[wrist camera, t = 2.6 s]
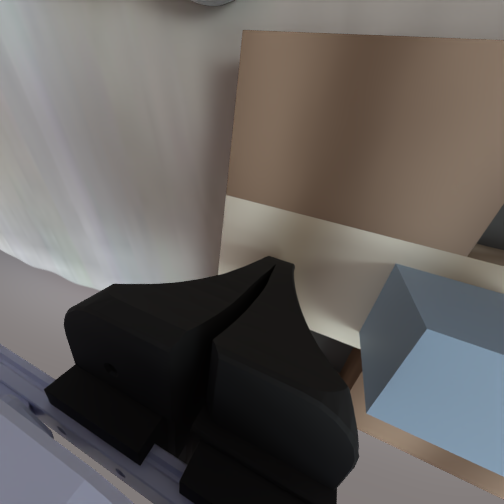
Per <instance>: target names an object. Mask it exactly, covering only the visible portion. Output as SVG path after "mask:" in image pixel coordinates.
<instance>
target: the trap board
mask: <svg viewBox="0 0 504 504" xmlns="http://www.w3.org/2000/svg"><path fill="white" fill-rule="evenodd" d="M267 256H271V257H274V258H277V259H280V260H283V261H286V262H290V263H293V264H294V265H295V270H294V282H295V288H296V293H297V297H298V301H299V304H300V308H301V310H302V313H303V316H304V318H305V320H306V323H307V325H308V327H309V329H310V331H311V333H312V335H313V336H314V338H315V340H316V342H317V344H318V346H319V347H320V349H321V350H322V352H323V353H324V355H325V356H326V358H327V359H328V361H329V362H330V363H331V365H332V366H333V367H334V369H335V370H336V371H337V372H338V374H339V375H340V376H341V378H342V379H343V380H344V382H345V383H346V384H347V386H348V387H349V389H350V393H351V398H352V402H353V407H354V413H355V418H356V424H357V429H358V430H360V431H363V432H365V433H367V434H369V435H371V436H373V437H375V438H377V439H379V440H381V441H383V442H385V443H388V444H389V445H392V446H394V447H396V448H398V449H400V450H402V451H404V452H406V453H408V454H410V455H412V456H414V457H417V458H419V459H421V460H423V461H425V462H427V463H429V464H431V465H433V466H435V467H437V468H439V469H441V470H443V471H446V472H448V473H450V474H452V475H454V476H456V477H458V478H460V479H462V480H464V481H466V482H468V483H471V484H473V485H475V486H477V487H479V488H481V489H483V490H485V491H487V492H489V493H491V494H494V495H495V496H497V497H499V498H502V499H504V477H503V476H501V475H499V474H497V473H495V472H492V471H490V470H488V469H486V468H484V467H482V466H479V465H477V464H475V463H473V462H471V461H469V460H466V459H464V458H462V457H460V456H458V455H455V454H453V453H451V452H449V451H447V450H445V449H442V448H440V447H438V446H436V445H434V444H432V443H429V442H427V441H425V440H423V439H421V438H419V437H416V436H414V435H412V434H410V433H408V432H405V431H403V430H401V429H399V428H397V427H395V426H392V425H390V424H388V423H386V422H384V421H382V420H379V419H377V418H375V417H373V416H371V415H369V414H366V406H365V394H364V383H363V371H362V359H361V347H360V336H359V332H360V330H361V328H362V326H363V324H364V322H365V320H366V318H367V317H368V315H369V313H370V311H371V309H372V307H373V305H374V303H375V302H376V300H377V298H378V296H379V294H380V292H381V290H382V288H383V286H384V285H385V283H386V281H387V279H388V277H389V275H390V273H391V271H392V269H393V268H394V266H395V264H400V265H403V266H407V267H410V268H414V269H417V270H421V271H424V272H428V273H432V274H435V275H439V276H442V277H446V278H449V279H453V280H456V281H460V282H463V283H467V284H470V285H474V286H477V287H481V288H484V289H488V290H491V291H495V292H499V293H502V294H504V40H486V39H460V38H435V37H409V36H383V35H357V34H331V33H305V32H280V31H254V30H243V33H242V43H241V53H240V63H239V72H238V82H237V92H236V102H235V111H234V121H233V131H232V141H231V151H230V160H229V170H228V180H227V190H226V200H225V209H224V219H223V229H222V239H221V248H220V258H219V268H218V275H220V274H224V273H227V272H230V271H233V270H236V269H238V268H241V267H244V266H246V265H249V264H251V263H253V262H256V261H258V260H260V259H262V258H264V257H267Z"/></svg>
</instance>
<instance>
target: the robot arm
mask: <svg viewBox="0 0 504 504" xmlns="http://www.w3.org/2000/svg"><path fill="white" fill-rule="evenodd" d="M294 270H295V265H294V264H293V263H290V262H286V261H283V260H280V259H277V258H274V257H271V256H267V257H264V258H262V259H260V260H258V261H256V262H253V263H251V264H249V265H246V266H244V267H241V268H238V269H236V270H233V271H230V272H227V273H224V274H220V275H217V276H212V277H208V278H203V279H197V280H191V281H184V282H176V283H163V284H112V285H111V286H109V287H107V288H105V289H104V290H102V291H100V292H98V293H96V294H95V295H93V296H91V297H90V298H88V299H86V300H84V301H82V302H80V303H79V304H77V305H75V306H73V307H71V308H70V309H69V310H68V311H67V313H66V315H65V319H64V328H65V332H66V336H67V339H68V343H69V345H70V349H71V351H72V355H73V358H74V361H75V364H76V365H74V366H73V367H72V368H70V369H69V370H68V371H67V372H65V373H64V374H63V375H61V376H60V377H59V378H58V379H56V380H55V379H54V378H52V377H51V376H49V375H47V374H46V373H45V372H43V371H41V370H40V369H38V368H37V367H35V366H34V365H32V364H31V363H29V362H27V361H26V360H24V359H23V358H21V357H20V356H18V355H17V354H15V353H13V352H12V351H10V350H9V349H7V348H6V347H4V346H2V345H1V344H0V504H134V503H133V502H132V501H131V500H130V499H129V498H127V497H126V496H125V495H124V494H123V493H121V492H120V491H119V490H118V489H117V488H116V487H115V486H113V485H112V484H111V483H110V482H109V481H107V480H106V479H105V478H104V477H103V476H102V475H100V474H99V473H98V472H97V471H96V470H94V469H93V468H92V467H90V466H89V465H88V464H86V463H85V462H84V461H82V460H81V459H80V458H78V457H77V456H76V455H74V454H73V453H71V452H70V451H69V450H68V449H66V448H65V447H64V446H62V445H61V444H59V443H58V442H57V441H55V440H54V437H53V434H52V432H51V430H50V429H49V428H48V427H47V426H46V425H48V426H49V427H50V428H51V429H53V430H54V431H56V432H57V433H58V434H60V435H61V436H62V437H64V438H65V439H66V440H68V441H69V442H71V443H72V444H73V445H75V446H76V447H77V448H79V449H80V450H81V451H83V452H84V453H85V454H87V455H88V456H90V457H91V458H92V459H94V460H95V461H96V462H98V463H99V464H100V465H102V466H103V467H104V468H106V469H107V470H109V471H110V472H111V473H113V474H114V475H115V476H117V477H118V478H120V479H121V480H122V481H124V482H125V483H126V484H128V485H129V486H130V487H132V488H133V489H134V490H136V491H137V492H139V493H140V494H141V495H143V496H144V497H145V498H147V499H148V500H149V501H151V502H152V503H154V504H336V502H337V501H336V500H337V487H338V486H339V485H340V484H341V482H342V481H343V480H344V479H345V477H347V475H348V474H349V473H350V472H351V471H352V469H353V468H354V467H355V465H356V462H357V460H358V458H359V454H358V448H359V444H358V431H357V424H356V418H355V413H354V407H353V402H352V398H351V393H350V389H349V387H348V386H347V384H346V383H345V382H344V380H343V379H342V378H341V376H340V375H339V374H338V372H337V371H336V370H335V369H334V367H333V366H332V365H331V363H330V362H329V361H328V359H327V358H326V356H325V355H324V353H323V352H322V350H321V349H320V347H319V346H318V344H317V342H316V340H315V338H314V336H313V335H312V333H311V331H310V329H309V327H308V325H307V323H306V320H305V318H304V316H303V313H302V310H301V308H300V304H299V301H298V297H297V293H296V288H295V282H294ZM44 423H45V424H46V425H45V424H44Z"/></svg>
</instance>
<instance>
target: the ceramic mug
mask: <svg viewBox="0 0 504 504" xmlns="http://www.w3.org/2000/svg"><path fill="white" fill-rule="evenodd" d="M191 1H193V2H195V3H198V4H202V5H207V6H219V5H223V4H226V3H228V2H231V1H234V0H191Z"/></svg>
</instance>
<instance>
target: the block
mask: <svg viewBox="0 0 504 504" xmlns="http://www.w3.org/2000/svg"><path fill="white" fill-rule="evenodd" d="M359 336H360V347H361V359H362V371H363V383H364V394H365V406H366V414H369V415H371V416H373V417H375V418H377V419H379V420H382V421H384V422H386V423H388V424H390V425H392V426H395V427H397V428H399V429H401V430H403V431H405V432H408V433H410V434H412V435H414V436H416V437H419V438H421V439H423V440H425V441H427V442H429V443H432V444H434V445H436V446H438V447H440V448H442V449H445V450H447V451H449V452H451V453H453V454H455V455H458V456H460V457H462V458H464V459H466V460H469V461H471V462H473V463H475V464H477V465H479V466H482V467H484V468H486V469H488V470H490V471H492V472H495V473H497V474H499V475H501V476H503V477H504V294H502V293H499V292H495V291H491V290H488V289H484V288H481V287H477V286H474V285H470V284H467V283H463V282H460V281H456V280H453V279H449V278H446V277H442V276H439V275H435V274H432V273H428V272H424V271H421V270H417V269H414V268H410V267H407V266H403V265H400V264H395V266H394V268H393V269H392V271H391V273H390V275H389V277H388V279H387V281H386V283H385V285H384V286H383V288H382V290H381V292H380V294H379V296H378V298H377V300H376V302H375V303H374V305H373V307H372V309H371V311H370V313H369V315H368V317H367V318H366V320H365V322H364V324H363V326H362V328H361V330H360V332H359Z"/></svg>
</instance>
